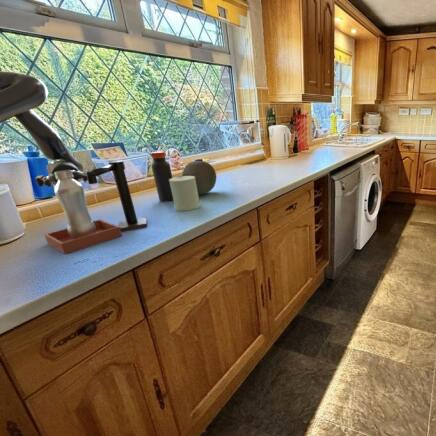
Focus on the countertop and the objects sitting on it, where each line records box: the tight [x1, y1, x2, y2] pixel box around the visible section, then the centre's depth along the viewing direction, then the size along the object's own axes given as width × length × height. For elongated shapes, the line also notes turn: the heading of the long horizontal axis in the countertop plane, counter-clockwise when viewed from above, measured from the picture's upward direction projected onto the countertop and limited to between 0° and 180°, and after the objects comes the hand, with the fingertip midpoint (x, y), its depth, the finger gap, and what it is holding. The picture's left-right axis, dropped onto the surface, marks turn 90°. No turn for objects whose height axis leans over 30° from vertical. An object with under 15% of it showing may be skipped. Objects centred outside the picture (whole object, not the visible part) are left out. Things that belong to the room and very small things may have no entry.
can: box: [169, 175, 201, 212], centre depth 116 cm, size 9×9×12 cm
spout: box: [85, 160, 126, 185], centre depth 87 cm, size 16×4×4 cm, turn 8°
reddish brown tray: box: [44, 219, 123, 255], centre depth 89 cm, size 14×13×3 cm
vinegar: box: [150, 151, 174, 202], centre depth 126 cm, size 7×7×20 cm
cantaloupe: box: [181, 160, 217, 196], centre depth 133 cm, size 14×14×15 cm
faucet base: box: [112, 170, 148, 232], centre depth 97 cm, size 8×7×19 cm
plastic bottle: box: [53, 170, 96, 239], centre depth 86 cm, size 6×7×20 cm
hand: (67, 180), depth 92 cm, fingers open, 8 cm apart
